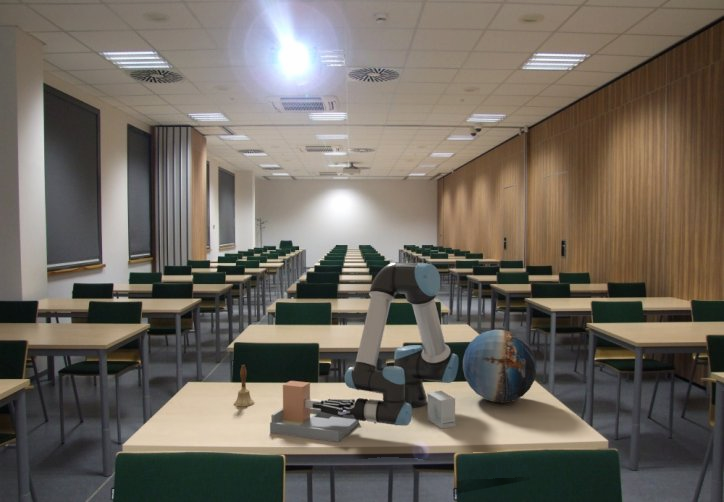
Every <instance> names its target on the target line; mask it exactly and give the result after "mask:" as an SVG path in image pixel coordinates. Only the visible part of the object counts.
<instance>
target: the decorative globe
mask: <svg viewBox="0 0 724 502" xmlns="http://www.w3.org/2000/svg"><path fill="white" fill-rule="evenodd" d="M467 345H468V346H467V347H466V349H465V351H464V354H463V358H462V371H463V374H464V379H465V380H466V382H467V384H468V386H469V387H470V388H471V389H472V390H473V391H474V392H475V393H476V394H477V395H478V396H479V397H482V398H483V399H484V400H487V401H490V402H493V403H504V404H505V403H509V402H513V401H516V400H518V399H519V398H522V397H524V396H525V395H526V394H527V393H528V392H529V390H530V389H531V388H532V385H533V383H534V382H535V380H536V375H537V360H536V358H535V353H534V352H533V350H532V348H531V347H530V345H529V344H528V343H527V342H526V341H525V340H524V339H523V338H522V337H521V336H519V335H517V334H516V333H514V332H512V331H508V330H506V329H491V330H488V331H484V332H482V333H480V334H478V335H477V336H476V337H474V339H472V340H471V341H470V342H469V344H467Z"/></svg>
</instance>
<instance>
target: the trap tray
mask: <svg viewBox="0 0 724 502" xmlns="http://www.w3.org/2000/svg"><path fill="white" fill-rule="evenodd" d="M270 416H271V419H270V420H271V422H270V423H269V433H271V434H278V435H285V436H294V437H298V438H299V437H300V438H306V439H314V440H320V441H327V442H328V441H329V442H335V443H339V442H340V441H341V440H342V439H343V438H344V437H346V436H347V435H348V434H349V433H350V432H351V431H352V430H353V429H354V428H355V427H356V426H357V425H358V424H360V421H359V420H356V419H355V418H354V415H345V414H343V417H339V416H337V415H333V414H328V413H324V412H321V409H314V408H310V418H309V419H307V420H306V421H305V422H303V423H301V422H293V421H285V420H283V407H282V408H280V409H278V410H277V411H275V412H274V413H272V414H271V415H270Z"/></svg>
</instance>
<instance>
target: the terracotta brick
mask: <svg viewBox="0 0 724 502" xmlns="http://www.w3.org/2000/svg"><path fill="white" fill-rule="evenodd" d="M306 399H311V383H310V382H305V381H296V380H290V381H287V382H286V383H284V384H282V408H283V420H285V421H293V422H301V423H303V422H305V421H306V420H307V419H309V418H310V408H306V407H305V400H306Z"/></svg>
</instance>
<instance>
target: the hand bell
mask: <svg viewBox="0 0 724 502" xmlns="http://www.w3.org/2000/svg"><path fill="white" fill-rule="evenodd" d="M239 371H240V372H239V375H240V380H241V389H239V390H238V391H237V397H236V400H235V401H234V402H233V405H234V407H238V406H239V408H241V407H242V408H243V407H249V406H252V405H254V404H255V401H254V399H252V397H251V393H250V390H249V389H247V388H246V387H247V386H246V385H247V384H246V380H247V375H248V373H247V368H246V365H245V364H241V367H240V370H239Z"/></svg>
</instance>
